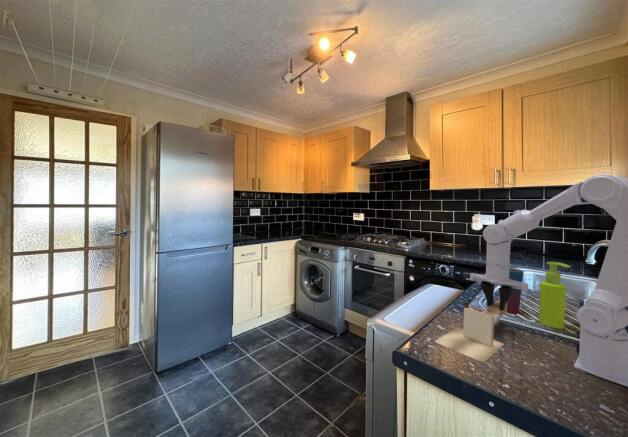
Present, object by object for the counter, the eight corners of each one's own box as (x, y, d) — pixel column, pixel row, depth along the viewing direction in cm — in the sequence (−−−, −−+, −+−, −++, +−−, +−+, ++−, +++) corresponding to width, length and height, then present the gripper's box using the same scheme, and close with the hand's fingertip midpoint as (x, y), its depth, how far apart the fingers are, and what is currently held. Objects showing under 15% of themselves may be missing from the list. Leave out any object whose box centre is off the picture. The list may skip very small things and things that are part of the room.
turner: (510, 312, 80) (510, 302, 80) (493, 326, 71) (493, 316, 71) (495, 308, 83) (495, 299, 83) (477, 321, 75) (477, 311, 74)
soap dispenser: (559, 331, 77) (562, 265, 76) (534, 321, 83) (536, 260, 83) (572, 329, 78) (575, 264, 78) (547, 319, 85) (549, 259, 84)
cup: (527, 314, 89) (528, 272, 88) (507, 314, 89) (508, 271, 88) (512, 307, 96) (513, 267, 95) (494, 307, 96) (495, 267, 95)
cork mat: (504, 345, 69) (504, 343, 69) (483, 364, 60) (483, 362, 60) (457, 328, 78) (457, 327, 78) (433, 343, 70) (433, 341, 70)
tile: (493, 345, 68) (494, 315, 67) (491, 347, 67) (492, 317, 67) (464, 335, 73) (465, 307, 73) (462, 336, 73) (463, 308, 72)
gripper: (466, 261, 81) (464, 304, 81) (523, 270, 69) (521, 319, 70) (475, 259, 85) (474, 299, 86) (531, 267, 74) (529, 313, 74)
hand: (496, 308), depth 78 cm, fingers closed on turner, 2 cm apart
